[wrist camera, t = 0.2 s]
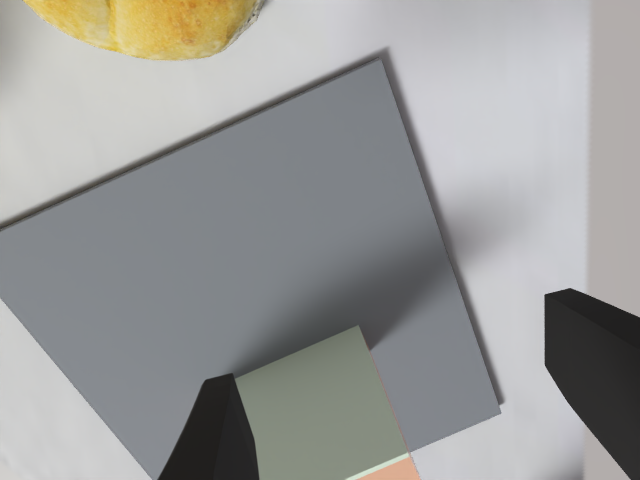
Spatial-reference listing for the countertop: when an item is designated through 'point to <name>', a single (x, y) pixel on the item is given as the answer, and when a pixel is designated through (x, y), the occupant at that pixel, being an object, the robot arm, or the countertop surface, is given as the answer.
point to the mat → (252, 269)
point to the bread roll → (152, 24)
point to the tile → (325, 415)
